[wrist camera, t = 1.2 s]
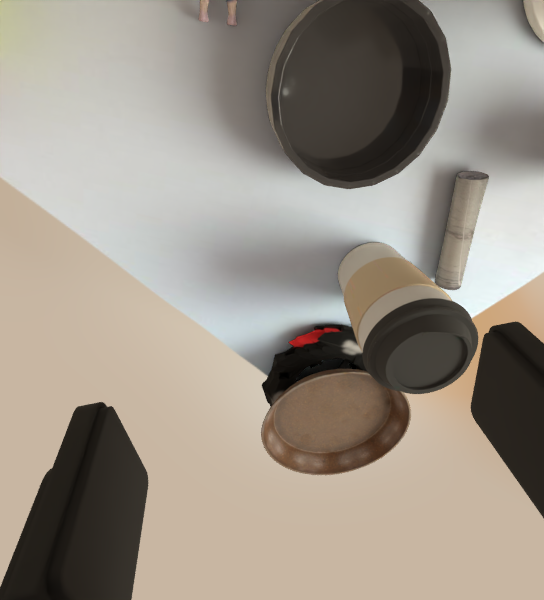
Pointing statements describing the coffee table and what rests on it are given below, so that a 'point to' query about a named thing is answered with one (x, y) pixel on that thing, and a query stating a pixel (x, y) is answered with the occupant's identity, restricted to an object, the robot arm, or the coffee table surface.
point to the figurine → (231, 7)
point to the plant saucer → (334, 422)
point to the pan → (358, 88)
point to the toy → (312, 356)
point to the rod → (460, 228)
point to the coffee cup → (404, 321)
